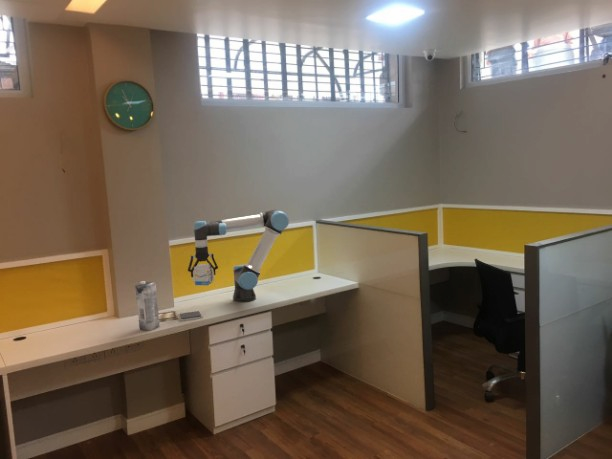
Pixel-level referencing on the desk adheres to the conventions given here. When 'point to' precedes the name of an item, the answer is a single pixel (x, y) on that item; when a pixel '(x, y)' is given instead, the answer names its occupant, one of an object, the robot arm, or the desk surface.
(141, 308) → the juice carton
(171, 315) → the print board
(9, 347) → the desk surface
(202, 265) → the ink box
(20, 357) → the desk surface
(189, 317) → the ink pad
